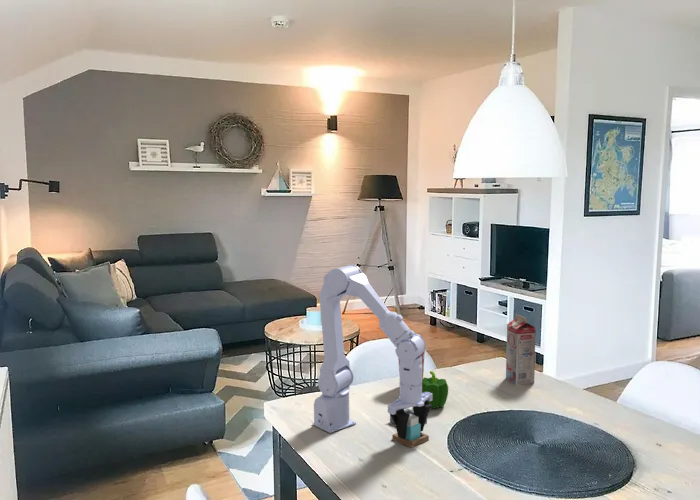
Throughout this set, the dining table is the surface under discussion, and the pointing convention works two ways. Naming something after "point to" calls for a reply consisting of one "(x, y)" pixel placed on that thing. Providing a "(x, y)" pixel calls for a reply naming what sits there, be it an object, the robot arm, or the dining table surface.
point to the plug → (413, 428)
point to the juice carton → (520, 351)
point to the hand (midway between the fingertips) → (410, 433)
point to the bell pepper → (435, 390)
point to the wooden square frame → (414, 442)
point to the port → (408, 411)
